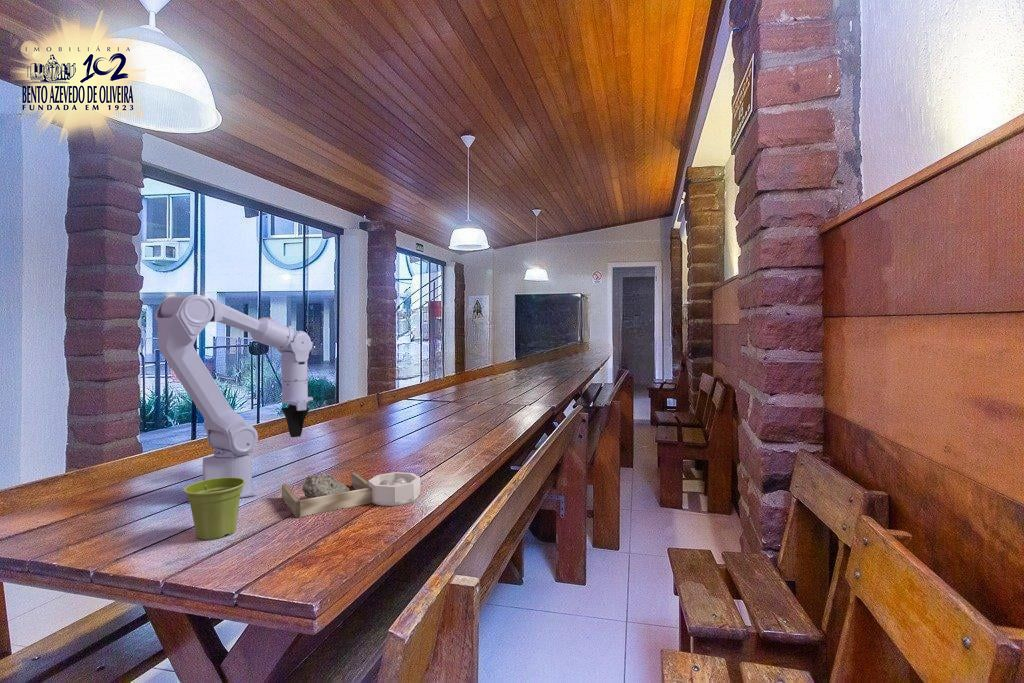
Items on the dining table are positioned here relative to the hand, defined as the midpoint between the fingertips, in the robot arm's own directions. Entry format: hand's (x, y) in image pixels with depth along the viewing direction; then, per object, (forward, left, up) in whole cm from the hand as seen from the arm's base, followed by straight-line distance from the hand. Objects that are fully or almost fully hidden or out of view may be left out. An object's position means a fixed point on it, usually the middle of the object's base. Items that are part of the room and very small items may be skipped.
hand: (295, 436), depth 124 cm
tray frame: (+2, -21, -10) cm, 23 cm away
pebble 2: (+14, -30, -8) cm, 34 cm away
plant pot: (-19, -28, -10) cm, 35 cm away
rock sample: (+3, -21, -10) cm, 24 cm away
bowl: (+14, -28, -10) cm, 33 cm away
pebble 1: (+12, -27, -8) cm, 31 cm away
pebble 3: (+15, -28, -8) cm, 32 cm away
